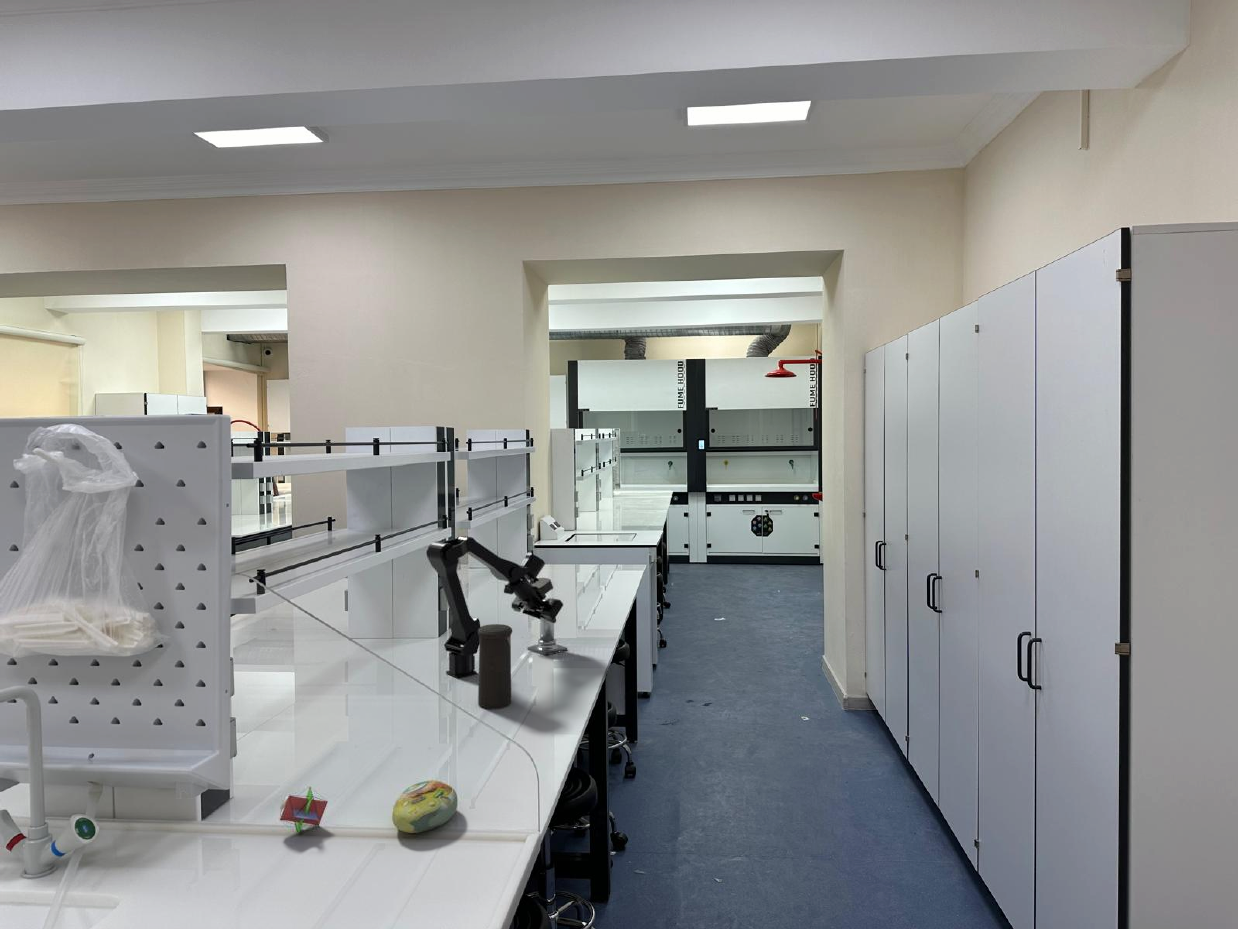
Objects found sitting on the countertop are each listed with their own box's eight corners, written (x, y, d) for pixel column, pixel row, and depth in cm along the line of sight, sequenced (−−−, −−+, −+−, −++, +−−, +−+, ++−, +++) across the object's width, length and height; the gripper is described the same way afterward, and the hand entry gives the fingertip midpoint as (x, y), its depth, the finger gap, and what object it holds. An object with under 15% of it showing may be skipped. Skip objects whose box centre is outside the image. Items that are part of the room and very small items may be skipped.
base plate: (544, 655, 241) (544, 652, 241) (527, 649, 247) (527, 646, 247) (567, 650, 247) (567, 647, 247) (549, 644, 253) (549, 641, 253)
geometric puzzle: (333, 801, 140) (304, 772, 137) (339, 818, 134) (309, 787, 131) (299, 832, 137) (269, 803, 135) (303, 851, 131) (272, 820, 129)
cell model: (377, 827, 130) (401, 760, 144) (392, 860, 133) (415, 791, 147) (438, 818, 129) (457, 751, 143) (452, 850, 132) (470, 782, 146)
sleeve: (551, 646, 243) (551, 602, 243) (535, 645, 245) (535, 600, 245) (558, 642, 249) (559, 598, 248) (542, 640, 250) (543, 597, 250)
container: (519, 701, 199) (519, 624, 198) (496, 712, 191) (496, 632, 191) (493, 695, 204) (493, 620, 203) (469, 705, 196) (469, 627, 195)
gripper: (559, 574, 237) (583, 605, 246) (518, 567, 249) (543, 596, 258) (539, 603, 231) (565, 634, 240) (499, 595, 244) (525, 624, 252)
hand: (550, 621), depth 248 cm, fingers closed on sleeve, 4 cm apart
